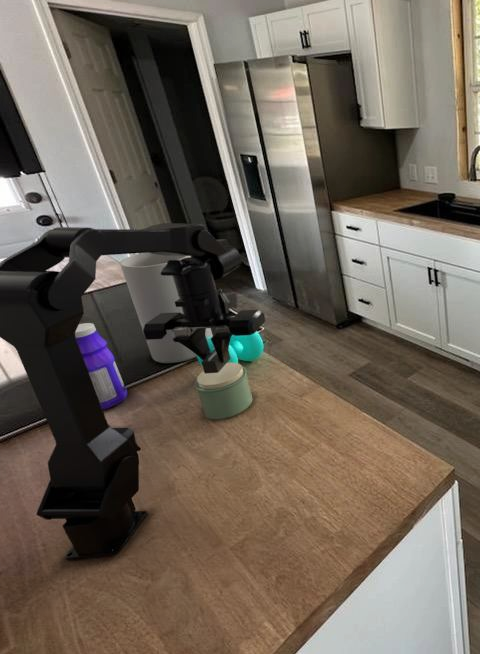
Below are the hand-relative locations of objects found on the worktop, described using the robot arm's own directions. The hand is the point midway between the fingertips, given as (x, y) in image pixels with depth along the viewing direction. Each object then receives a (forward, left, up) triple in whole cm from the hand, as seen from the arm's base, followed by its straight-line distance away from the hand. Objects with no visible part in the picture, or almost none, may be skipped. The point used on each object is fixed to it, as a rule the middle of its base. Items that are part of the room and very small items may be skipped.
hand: (216, 361), depth 81 cm
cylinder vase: (+23, +21, -11) cm, 33 cm away
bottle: (+4, +25, -11) cm, 28 cm away
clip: (0, 0, -1) cm, 1 cm away
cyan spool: (+14, +5, -11) cm, 19 cm away
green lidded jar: (0, 0, -11) cm, 11 cm away
